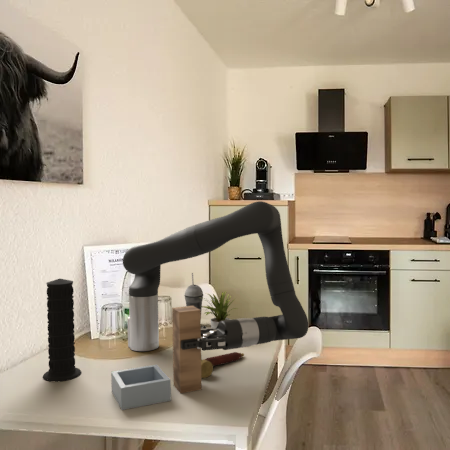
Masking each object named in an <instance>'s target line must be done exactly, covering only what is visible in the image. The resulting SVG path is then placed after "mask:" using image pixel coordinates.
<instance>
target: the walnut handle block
mask: <svg viewBox="0 0 450 450" xmlns="http://www.w3.org/2000/svg"><path fill="white" fill-rule="evenodd" d="M171 311H172V313H171V315H172V316H171V319H172V323H171V324H172V370H173V371H172V374H173V378H172V379H173V380H172V381H173V387H174V388H175V389H176V390H177V391H178V392H179V394H185V393H190V392H195V391H200V390H202V378H201V360H202V348H201V349H197V347H196V348H192V349H185V350H183V349H181V340H186V339H194V338H195V339H196V338H199V337H201V326H202V324H201V323H202V322H201V321H202V315H201V316H200V309H198V308H196V307H194V306H186V305H185V306H176V307H172V308H171Z"/></svg>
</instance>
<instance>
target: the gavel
mask: <svg viewBox="0 0 450 450" xmlns="http://www.w3.org/2000/svg"><path fill="white" fill-rule="evenodd" d="M243 357H245V354H244V353H241V352H239V351H238V352H236V351H233V352H230V353H226V354H225V353H224V354H220V355H216V356H215V355H214V356H210V357H206V358H204V359H201V379H205V378H206V379H207V378H209V377H211V375H212V373H213V371H214V370H213V369H214V367H216V366H219V365H224V364H229V363H232V362H236V360H237V361H238V360H240V359H242V358H243Z"/></svg>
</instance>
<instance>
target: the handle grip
mask: <svg viewBox="0 0 450 450" xmlns="http://www.w3.org/2000/svg"><path fill="white" fill-rule="evenodd" d="M45 284H46V296H47V297H46V300H47V302H46V307H47V309H46V310H47V311H46V312H47V315H46V317H47V320H48V321H47V331H48V332H47V336H48V338H47V343H48V345H47V347H48V349H47V350H48V351H47V352H48V359H49V360H48V367H49V369H48V371H46V372H44V374H43V376H42V380H44V381H47V382H51V381H55V382H54V383H59V382H58V381H60V382H65V381H70V380H73V379H77V378H78V377H80V376H81V375H82V371H81V370H80V368H78V367H76V358H75V357H76V353H75V351H76V347H75V343H76V342H75V339H76V337H75V334H74V333H75V323H74V322H75V319H74V317H75V313H74V312H75V311H74V309H75V307H74V305H75V303H74V302H75V301H74V297H75V296H74V295H73V294H74V287H73V284H74V281H73V280H70V279H64V278H57V279H54V280H51V281H47V282H46V283H45Z"/></svg>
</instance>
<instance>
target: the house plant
mask: <svg viewBox="0 0 450 450" xmlns="http://www.w3.org/2000/svg"><path fill="white" fill-rule="evenodd" d="M205 294H207V295H208V296H209V297H210V298H211V299H210V302H211V303H209V300H206V298H204V297H203V300H206V302H207V303H209V305H208V304H206V306H205V305H202V306H201V307H202V308H203V309H204V308H205V311H206V312H205V311H204V313H203V315H205V316H208V315H209V314H211V315H213V316H214V317H212V318H210V320H209V321H210V328H213V329H216V328H217V326H218V323H219V322H220V321H223V320H231V319H232V318H229V317H228V316H230V315H231V314H229V313H228V312H227V311H228V308H229V307H230V306H231V304H232V303H233V302H234V301H235V299H236V298H234V299H233V300H232V301H231V298H232V295H230V294H229V293H228V294H227V291H222V292H221V294H220V297H219V299H218V298H217V296H216V295H215V294H214V293H213V294H212V295H213V296H212V295H211V294H209V293H207V292H206V293H205ZM226 294H227V296H226ZM229 295H230V296H229ZM208 310H210V311H208ZM232 310H238V308H237V307H235V308H234V307H233V308H232V309H230V311H232Z"/></svg>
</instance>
